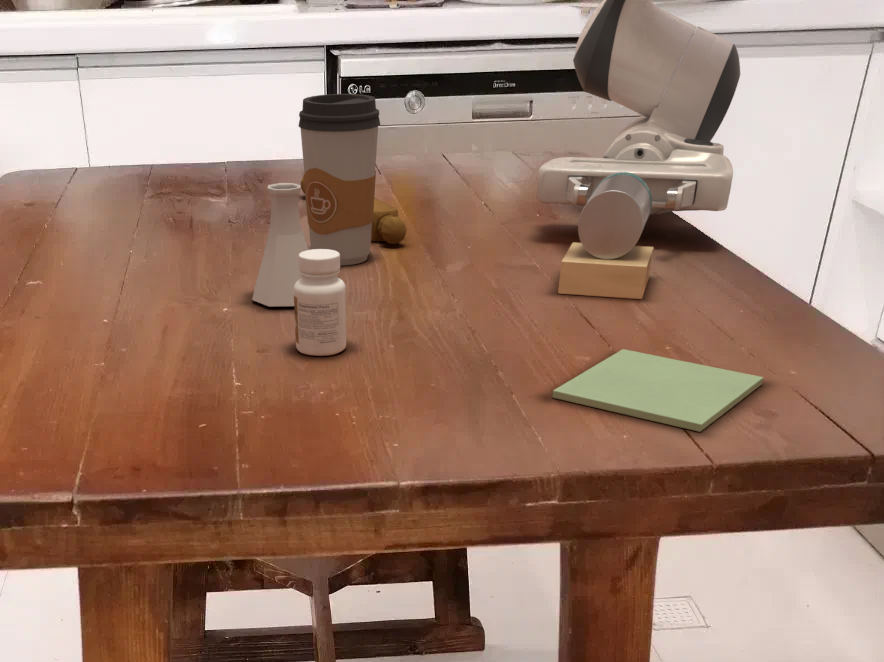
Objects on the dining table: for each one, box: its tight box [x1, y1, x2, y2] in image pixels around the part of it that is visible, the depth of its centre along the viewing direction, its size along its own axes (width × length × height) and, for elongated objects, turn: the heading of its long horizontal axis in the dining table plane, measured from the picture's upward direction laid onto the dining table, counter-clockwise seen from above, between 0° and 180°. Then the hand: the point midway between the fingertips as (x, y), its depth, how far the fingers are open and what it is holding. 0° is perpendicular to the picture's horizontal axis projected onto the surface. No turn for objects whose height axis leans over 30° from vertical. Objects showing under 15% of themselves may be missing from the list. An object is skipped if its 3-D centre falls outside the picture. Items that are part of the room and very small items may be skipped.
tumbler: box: [577, 172, 652, 259], centre depth 107 cm, size 9×6×6 cm
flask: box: [252, 182, 310, 307], centre depth 104 cm, size 7×7×10 cm
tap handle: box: [300, 175, 407, 245], centre depth 132 cm, size 3×3×30 cm
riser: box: [557, 241, 655, 300], centre depth 108 cm, size 8×8×3 cm
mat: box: [551, 348, 764, 433], centre depth 85 cm, size 12×12×1 cm
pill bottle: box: [293, 249, 347, 357], centre depth 93 cm, size 4×4×8 cm
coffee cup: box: [298, 93, 381, 266], centre depth 114 cm, size 8×8×15 cm
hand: (625, 198), depth 113 cm, fingers open, 8 cm apart
